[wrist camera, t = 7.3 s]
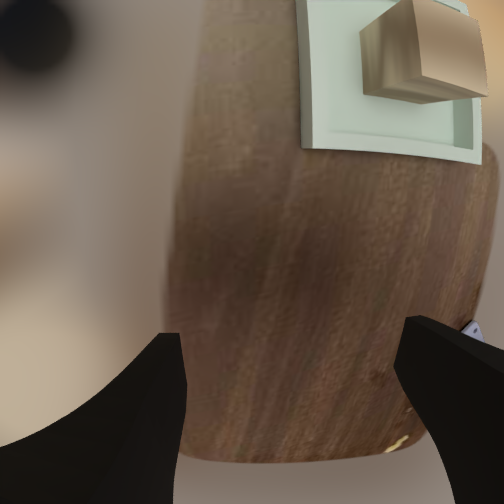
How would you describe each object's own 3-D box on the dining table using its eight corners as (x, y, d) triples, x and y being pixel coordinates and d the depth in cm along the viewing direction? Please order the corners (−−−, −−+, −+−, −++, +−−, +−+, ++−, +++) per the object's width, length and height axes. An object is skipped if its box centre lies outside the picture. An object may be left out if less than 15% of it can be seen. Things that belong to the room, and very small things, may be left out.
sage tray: (457, 161, 17) (481, 164, 15) (300, 148, 16) (312, 148, 14) (445, 13, 14) (466, 4, 11) (293, -23, 13) (302, -43, 11)
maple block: (421, 104, 15) (488, 96, 10) (363, 94, 15) (422, 75, 9) (416, 45, 14) (478, 20, 8) (359, 31, 14) (411, -7, 8)
